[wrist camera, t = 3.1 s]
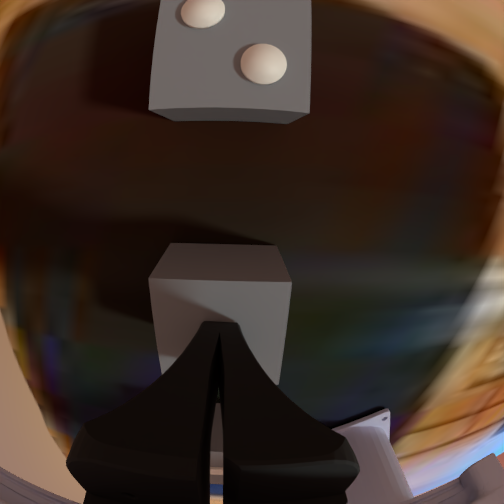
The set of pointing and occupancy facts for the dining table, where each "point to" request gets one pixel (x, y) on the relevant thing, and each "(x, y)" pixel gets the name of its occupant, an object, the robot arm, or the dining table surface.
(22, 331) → the dining table surface
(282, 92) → the dotted block
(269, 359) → the plain block
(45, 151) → the dining table surface
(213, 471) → the barred block
